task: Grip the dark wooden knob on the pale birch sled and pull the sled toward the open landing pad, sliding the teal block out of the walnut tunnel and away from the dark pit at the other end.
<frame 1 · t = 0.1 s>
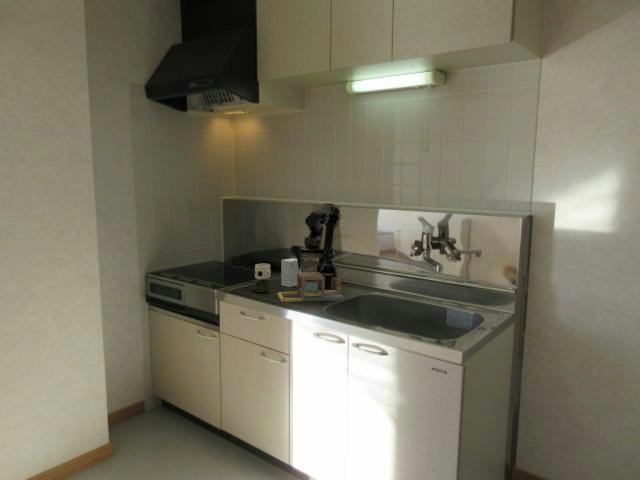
hand: (309, 269, 197), 15 cm above the worktop, tool tilted 35°, fingers open, 9 cm apart
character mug: (262, 292, 218), on the worktop
sled: (321, 286, 210), point 5 cm above the worktop, slide at 0.0 cm, touching block
block: (310, 291, 209), point 3 cm above the worktop, touching sled
small box: (291, 285, 234), on the worktop
tunnel track: (310, 297, 209), on the worktop
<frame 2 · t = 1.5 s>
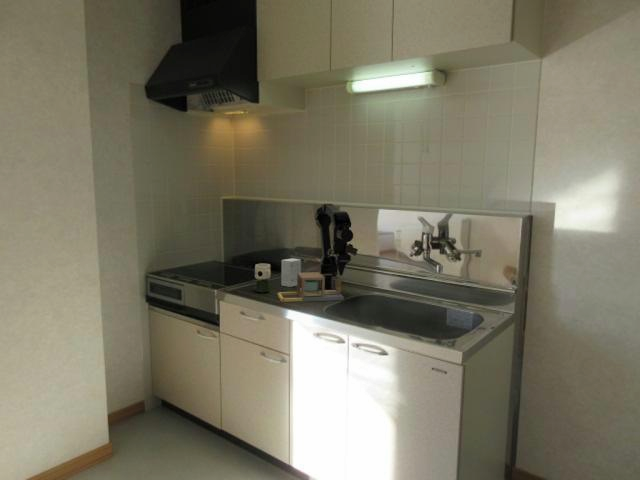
hand: (338, 273, 211), 11 cm above the worktop, tool pointing down, fingers open, 9 cm apart
nothing on the worktop moved.
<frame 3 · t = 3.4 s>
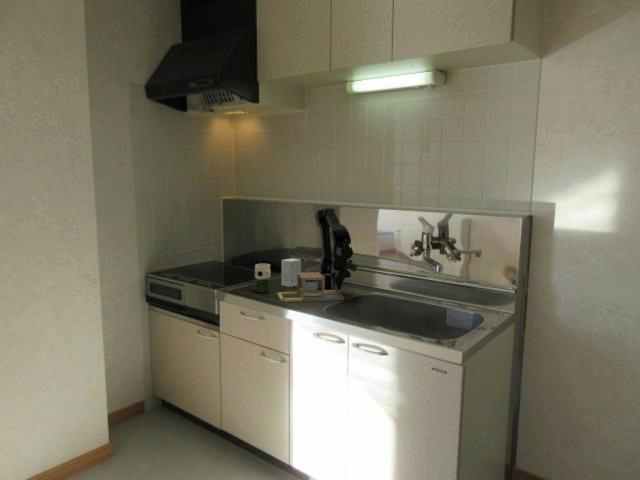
hand: (338, 289, 212), 4 cm above the worktop, tool pointing down, fingers closed on sled, 2 cm apart
sled: (321, 286, 210), point 5 cm above the worktop, slide at 0.0 cm, touching block, gripper
everything else where it was.
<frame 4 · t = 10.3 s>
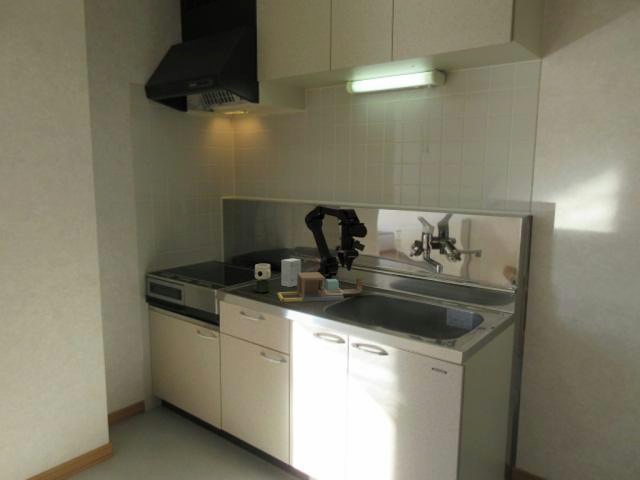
hand: (345, 268, 217), 12 cm above the worktop, tool pointing down, fingers open, 9 cm apart
sled: (342, 286, 212), point 5 cm above the worktop, slide at 10.0 cm, touching block
block: (331, 290, 211), point 3 cm above the worktop, touching sled
everything else where it was.
at the end: sled slide at 10.0 cm; block inside the target area on the tunnel track (0.8 cm from its centre), point 2.8 cm above the tunnel track's base; block tilted 0° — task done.
